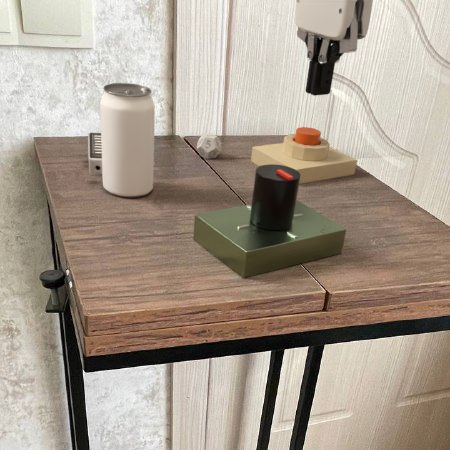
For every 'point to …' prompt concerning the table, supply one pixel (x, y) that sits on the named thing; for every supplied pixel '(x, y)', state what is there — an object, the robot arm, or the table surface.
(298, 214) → the panel
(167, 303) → the table surface
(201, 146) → the game die
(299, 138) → the button
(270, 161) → the button box
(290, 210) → the knob
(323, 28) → the robot arm
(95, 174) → the multiport hub
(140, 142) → the can
